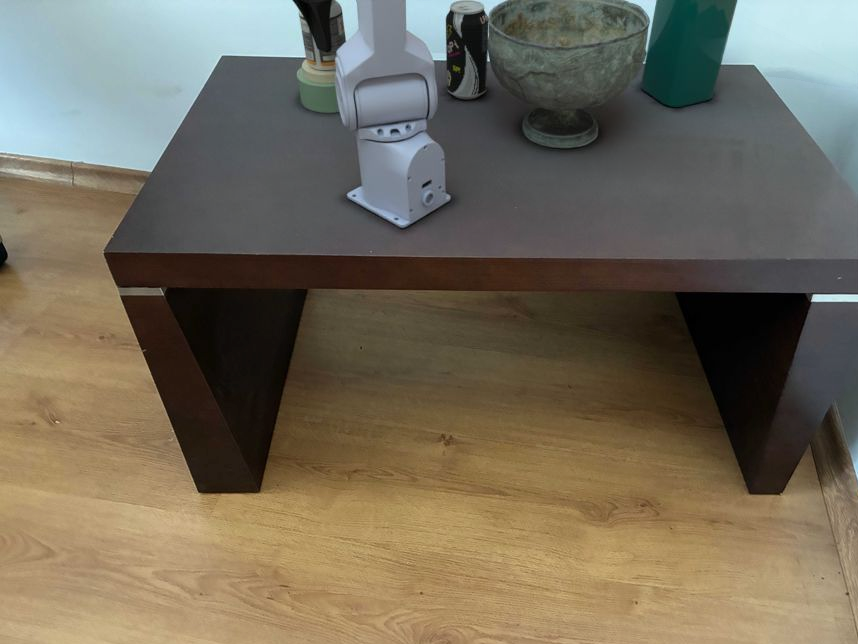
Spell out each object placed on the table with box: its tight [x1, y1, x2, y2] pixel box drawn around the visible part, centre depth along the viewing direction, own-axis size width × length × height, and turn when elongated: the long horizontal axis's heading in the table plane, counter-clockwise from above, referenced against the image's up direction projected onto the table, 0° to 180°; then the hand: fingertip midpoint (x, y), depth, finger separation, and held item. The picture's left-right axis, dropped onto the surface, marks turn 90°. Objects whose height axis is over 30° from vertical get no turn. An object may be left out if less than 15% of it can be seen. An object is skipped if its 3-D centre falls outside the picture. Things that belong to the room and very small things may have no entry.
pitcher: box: [640, 0, 739, 108], centre depth 94 cm, size 10×8×22 cm
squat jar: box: [296, 59, 340, 114], centre depth 99 cm, size 9×9×5 cm
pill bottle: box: [298, 0, 347, 70], centre depth 94 cm, size 6×6×10 cm
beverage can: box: [445, 0, 489, 100], centre depth 98 cm, size 6×6×12 cm
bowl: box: [487, 0, 651, 149], centre depth 90 cm, size 20×19×15 cm
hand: (346, 41), depth 93 cm, fingers open, 7 cm apart
